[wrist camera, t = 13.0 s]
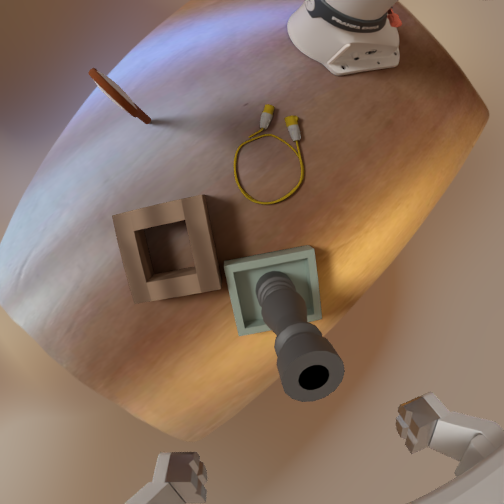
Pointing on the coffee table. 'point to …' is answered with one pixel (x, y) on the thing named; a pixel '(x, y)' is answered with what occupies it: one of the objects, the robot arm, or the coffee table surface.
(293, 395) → the candle holder
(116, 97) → the magnifying glass
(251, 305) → the parts tray
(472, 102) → the coffee table surface
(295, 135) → the extension cord
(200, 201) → the socket block
